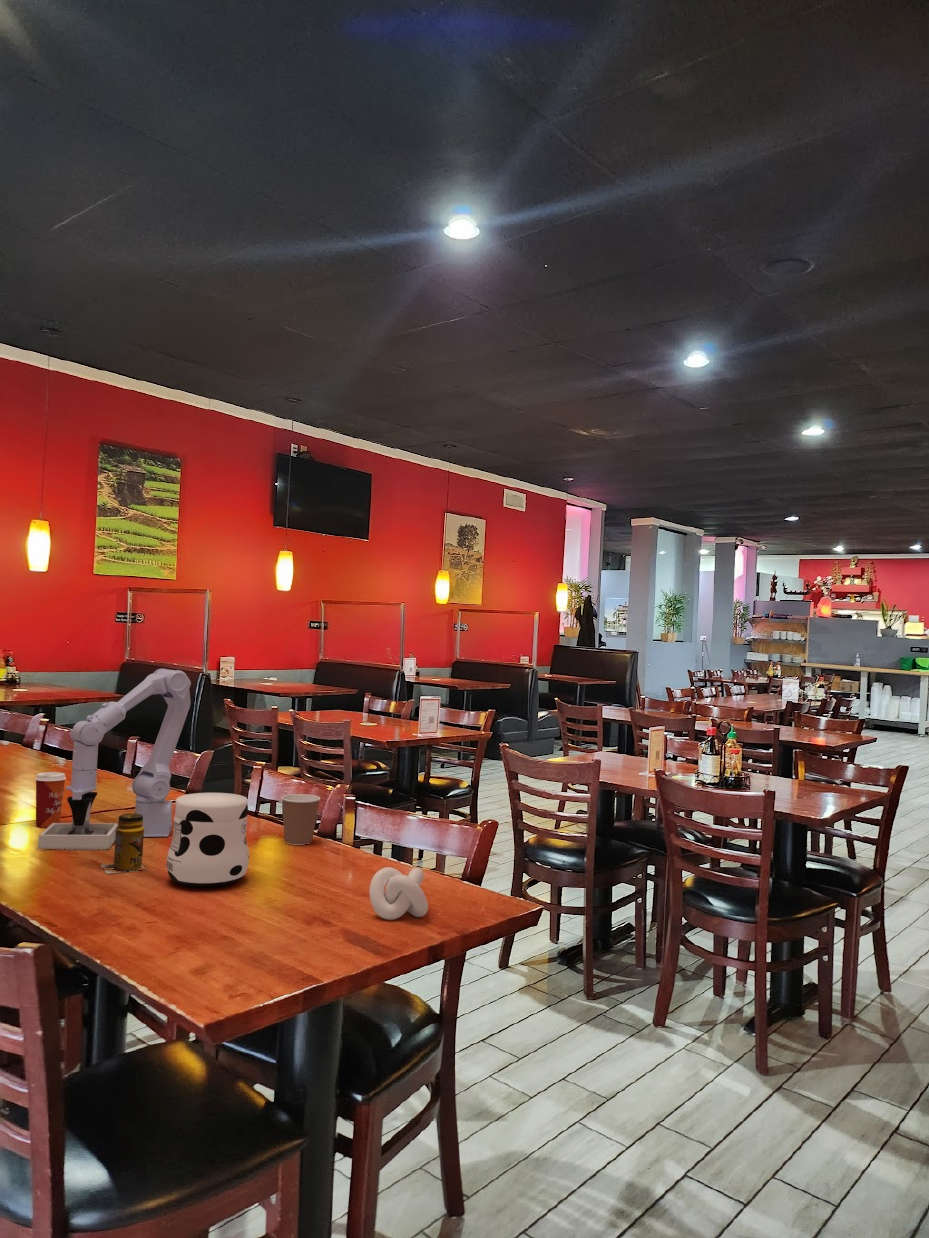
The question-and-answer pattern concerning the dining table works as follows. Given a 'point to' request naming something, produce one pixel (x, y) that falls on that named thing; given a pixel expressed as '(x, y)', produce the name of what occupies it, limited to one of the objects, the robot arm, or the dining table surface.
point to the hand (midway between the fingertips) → (80, 823)
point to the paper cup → (49, 798)
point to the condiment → (128, 844)
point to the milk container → (209, 839)
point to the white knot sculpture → (398, 893)
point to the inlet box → (78, 837)
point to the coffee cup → (299, 817)
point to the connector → (85, 828)
